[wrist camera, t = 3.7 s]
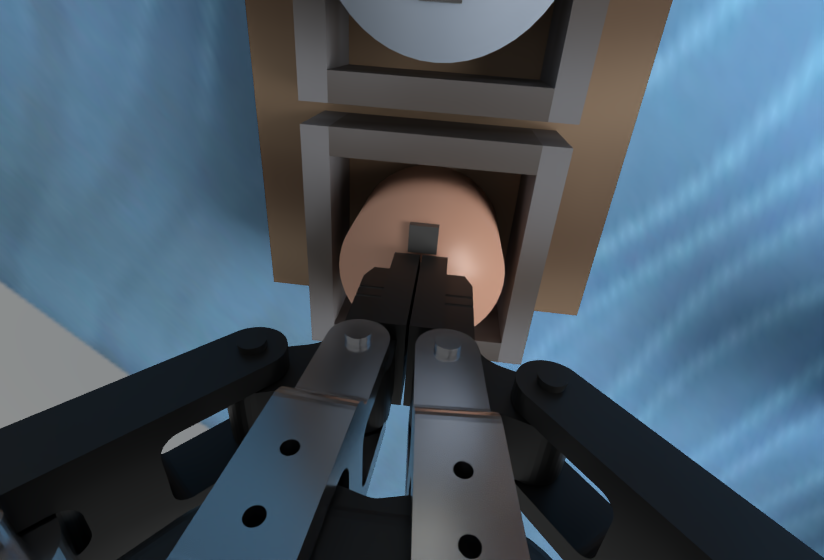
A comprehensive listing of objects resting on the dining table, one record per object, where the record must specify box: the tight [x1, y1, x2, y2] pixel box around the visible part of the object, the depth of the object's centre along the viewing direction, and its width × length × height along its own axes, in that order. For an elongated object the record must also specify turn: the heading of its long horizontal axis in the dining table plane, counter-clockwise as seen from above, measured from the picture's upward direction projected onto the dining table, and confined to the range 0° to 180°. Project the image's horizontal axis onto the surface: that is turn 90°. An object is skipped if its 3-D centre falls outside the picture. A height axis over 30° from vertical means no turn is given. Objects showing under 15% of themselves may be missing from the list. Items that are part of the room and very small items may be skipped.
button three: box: [339, 165, 505, 326], centre depth 14 cm, size 5×5×3 cm
